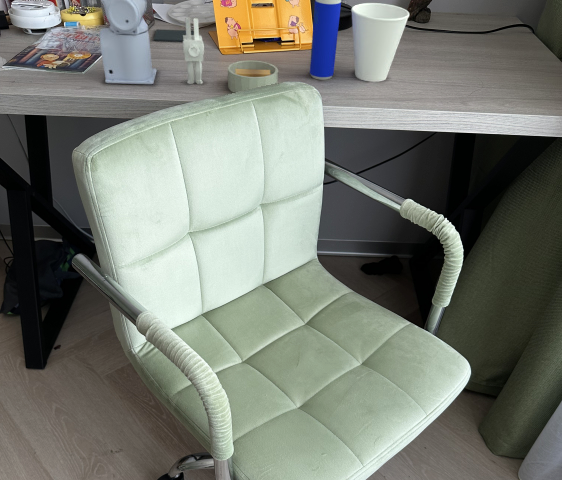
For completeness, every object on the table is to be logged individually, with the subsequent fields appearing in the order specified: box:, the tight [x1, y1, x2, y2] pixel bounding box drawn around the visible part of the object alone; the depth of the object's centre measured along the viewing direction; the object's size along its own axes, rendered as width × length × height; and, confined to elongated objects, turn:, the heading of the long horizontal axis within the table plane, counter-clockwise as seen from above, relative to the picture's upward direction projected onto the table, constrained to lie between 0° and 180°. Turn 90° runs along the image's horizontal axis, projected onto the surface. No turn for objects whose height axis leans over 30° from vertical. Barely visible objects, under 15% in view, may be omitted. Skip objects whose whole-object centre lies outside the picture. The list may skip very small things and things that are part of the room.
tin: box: [227, 60, 279, 93], centre depth 116 cm, size 10×10×4 cm
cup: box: [350, 2, 410, 83], centre depth 121 cm, size 12×12×12 cm
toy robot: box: [182, 17, 205, 85], centre depth 113 cm, size 4×8×12 cm, turn 9°
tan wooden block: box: [235, 69, 270, 77], centre depth 116 cm, size 7×3×3 cm, turn 93°
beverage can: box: [309, 0, 342, 81], centre depth 118 cm, size 5×5×15 cm
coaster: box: [153, 28, 194, 43], centre depth 138 cm, size 9×8×1 cm
